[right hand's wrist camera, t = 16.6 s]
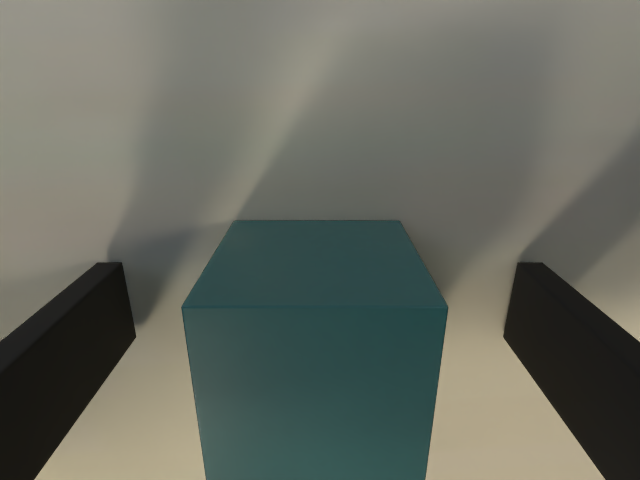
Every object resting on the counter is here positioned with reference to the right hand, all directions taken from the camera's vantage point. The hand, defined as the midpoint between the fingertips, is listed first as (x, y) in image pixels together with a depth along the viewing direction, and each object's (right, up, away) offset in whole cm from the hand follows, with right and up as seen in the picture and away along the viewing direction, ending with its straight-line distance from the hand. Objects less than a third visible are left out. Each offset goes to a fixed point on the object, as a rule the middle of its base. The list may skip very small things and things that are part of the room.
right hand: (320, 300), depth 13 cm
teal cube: (0, 0, 0) cm, 0 cm away
